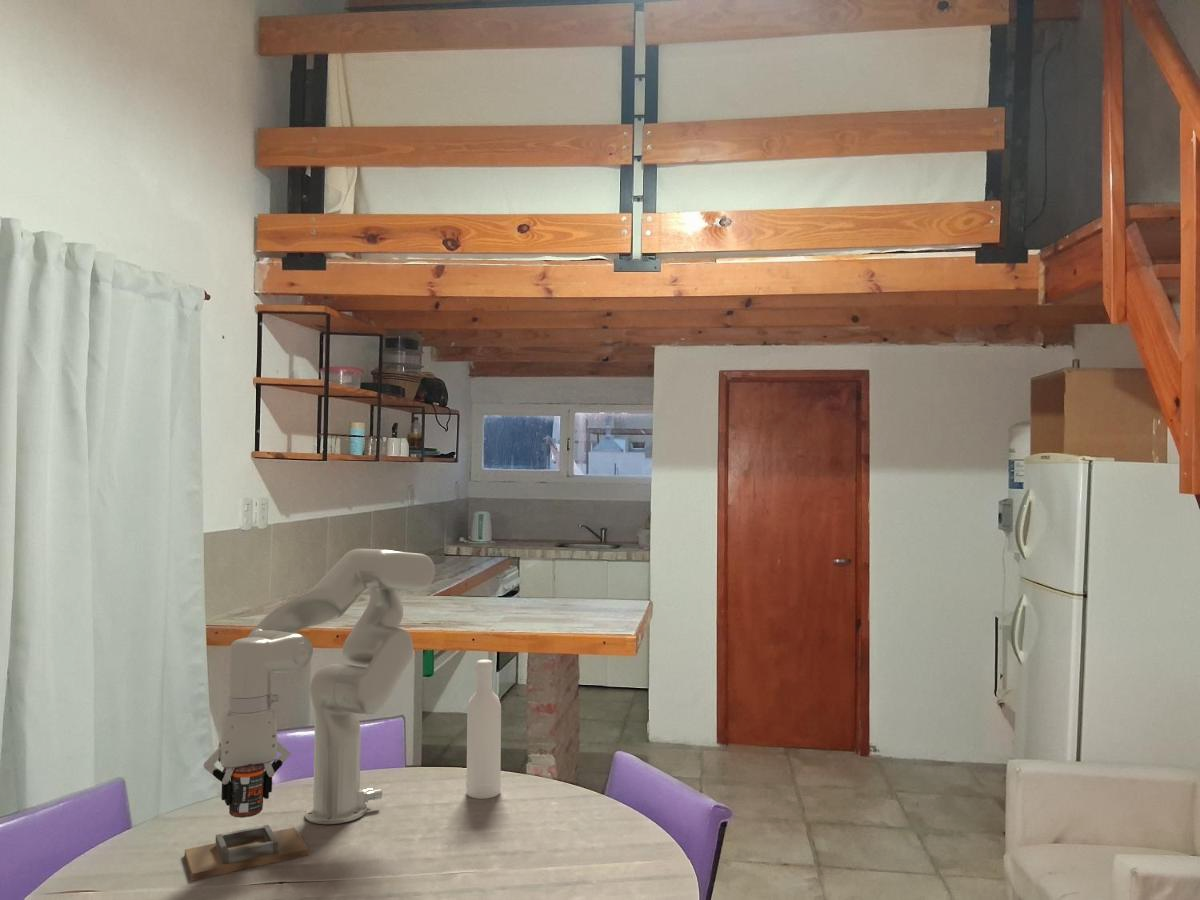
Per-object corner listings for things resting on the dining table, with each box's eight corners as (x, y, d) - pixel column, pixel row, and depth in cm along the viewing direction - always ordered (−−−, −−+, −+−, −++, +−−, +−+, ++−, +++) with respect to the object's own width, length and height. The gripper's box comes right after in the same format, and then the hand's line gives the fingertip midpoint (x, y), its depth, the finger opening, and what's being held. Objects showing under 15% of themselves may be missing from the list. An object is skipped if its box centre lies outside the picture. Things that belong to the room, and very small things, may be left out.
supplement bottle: (250, 820, 157) (252, 758, 158) (222, 817, 158) (224, 755, 159) (269, 808, 163) (271, 749, 164) (241, 806, 164) (243, 746, 165)
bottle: (508, 793, 194) (509, 660, 196) (480, 802, 188) (482, 665, 190) (486, 784, 200) (487, 656, 201) (459, 793, 194) (460, 660, 195)
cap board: (294, 833, 171) (294, 817, 171) (308, 855, 161) (308, 837, 161) (184, 855, 160) (184, 838, 161) (192, 880, 150) (192, 862, 150)
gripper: (292, 694, 170) (289, 786, 169) (197, 705, 161) (194, 802, 160) (300, 702, 163) (298, 797, 162) (202, 713, 154) (199, 815, 153)
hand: (246, 799), depth 161 cm, fingers closed on supplement bottle, 6 cm apart
